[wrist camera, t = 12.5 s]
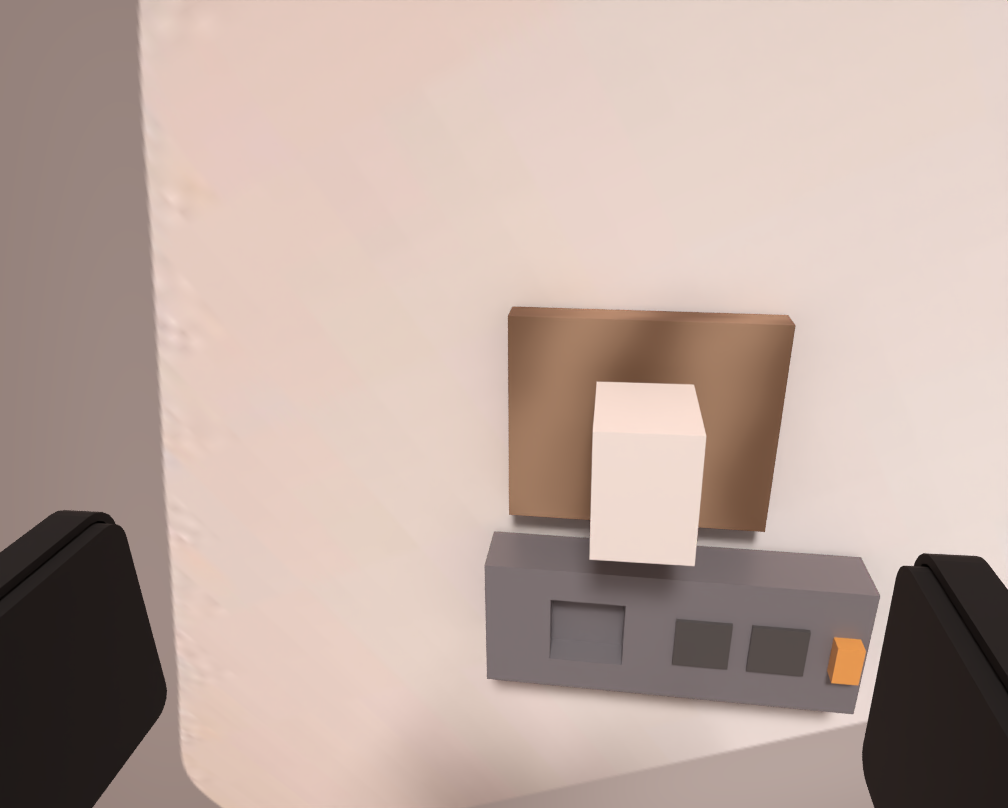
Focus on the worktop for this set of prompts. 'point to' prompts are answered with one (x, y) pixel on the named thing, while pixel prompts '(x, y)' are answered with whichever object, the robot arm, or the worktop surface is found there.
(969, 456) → the worktop surface
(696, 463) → the block
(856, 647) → the power strip
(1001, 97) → the worktop surface
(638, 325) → the pad
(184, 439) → the worktop surface
